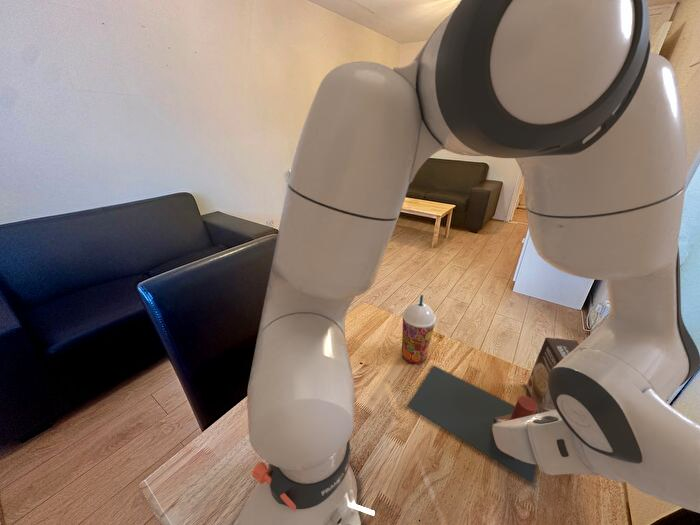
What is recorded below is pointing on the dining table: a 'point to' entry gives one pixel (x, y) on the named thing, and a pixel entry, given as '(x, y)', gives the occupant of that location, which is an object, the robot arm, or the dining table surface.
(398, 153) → the robot arm
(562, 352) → the coffee box
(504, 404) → the mat
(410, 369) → the dining table surface
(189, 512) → the dining table surface
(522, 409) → the red cylinder on base
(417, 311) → the smoothie
